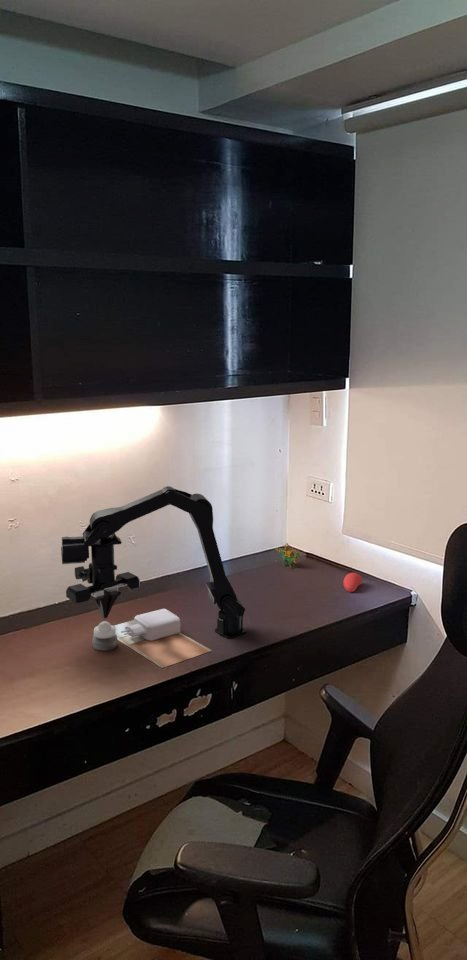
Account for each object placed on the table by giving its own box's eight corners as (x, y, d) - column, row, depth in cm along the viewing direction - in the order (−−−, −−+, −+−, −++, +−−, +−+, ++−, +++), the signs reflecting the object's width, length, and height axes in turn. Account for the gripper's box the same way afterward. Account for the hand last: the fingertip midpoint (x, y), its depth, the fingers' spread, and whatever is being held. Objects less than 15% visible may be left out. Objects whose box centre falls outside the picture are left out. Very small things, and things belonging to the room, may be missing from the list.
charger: (114, 635, 201) (163, 623, 210) (131, 648, 194) (180, 634, 203) (114, 619, 200) (162, 607, 209) (131, 631, 193) (180, 618, 202)
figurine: (296, 571, 254) (297, 548, 252) (271, 562, 262) (271, 540, 260) (302, 569, 256) (303, 546, 254) (277, 560, 264) (278, 538, 262)
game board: (149, 615, 215) (149, 608, 215) (211, 651, 194) (211, 643, 193) (77, 636, 201) (77, 629, 200) (136, 677, 179) (136, 669, 179)
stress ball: (336, 592, 239) (339, 580, 235) (349, 576, 245) (353, 563, 240) (350, 601, 237) (354, 588, 233) (363, 583, 243) (367, 571, 238)
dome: (108, 627, 199) (108, 615, 199) (119, 634, 195) (119, 622, 194) (89, 633, 196) (89, 621, 195) (100, 640, 192) (100, 628, 191)
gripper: (118, 546, 203) (119, 600, 206) (54, 560, 191) (57, 617, 195) (140, 556, 195) (141, 612, 198) (75, 571, 183) (78, 631, 186)
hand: (104, 618), depth 194 cm, fingers closed
